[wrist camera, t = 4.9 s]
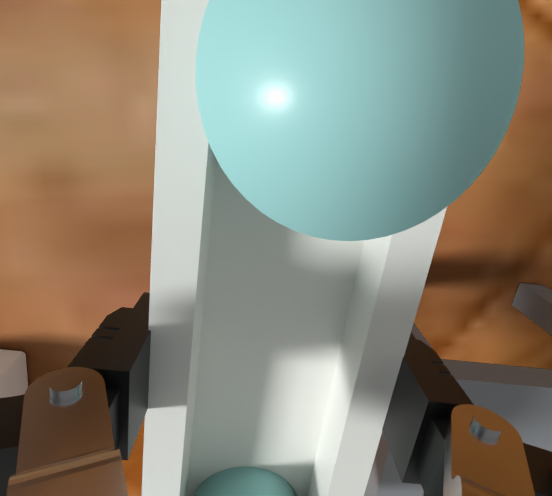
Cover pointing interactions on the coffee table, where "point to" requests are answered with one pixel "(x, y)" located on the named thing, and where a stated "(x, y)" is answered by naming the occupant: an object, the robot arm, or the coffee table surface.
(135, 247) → the coffee table surface
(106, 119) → the coffee table surface
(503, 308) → the coffee table surface
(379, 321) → the tray
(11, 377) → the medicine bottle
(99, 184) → the coffee table surface
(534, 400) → the grey stand
